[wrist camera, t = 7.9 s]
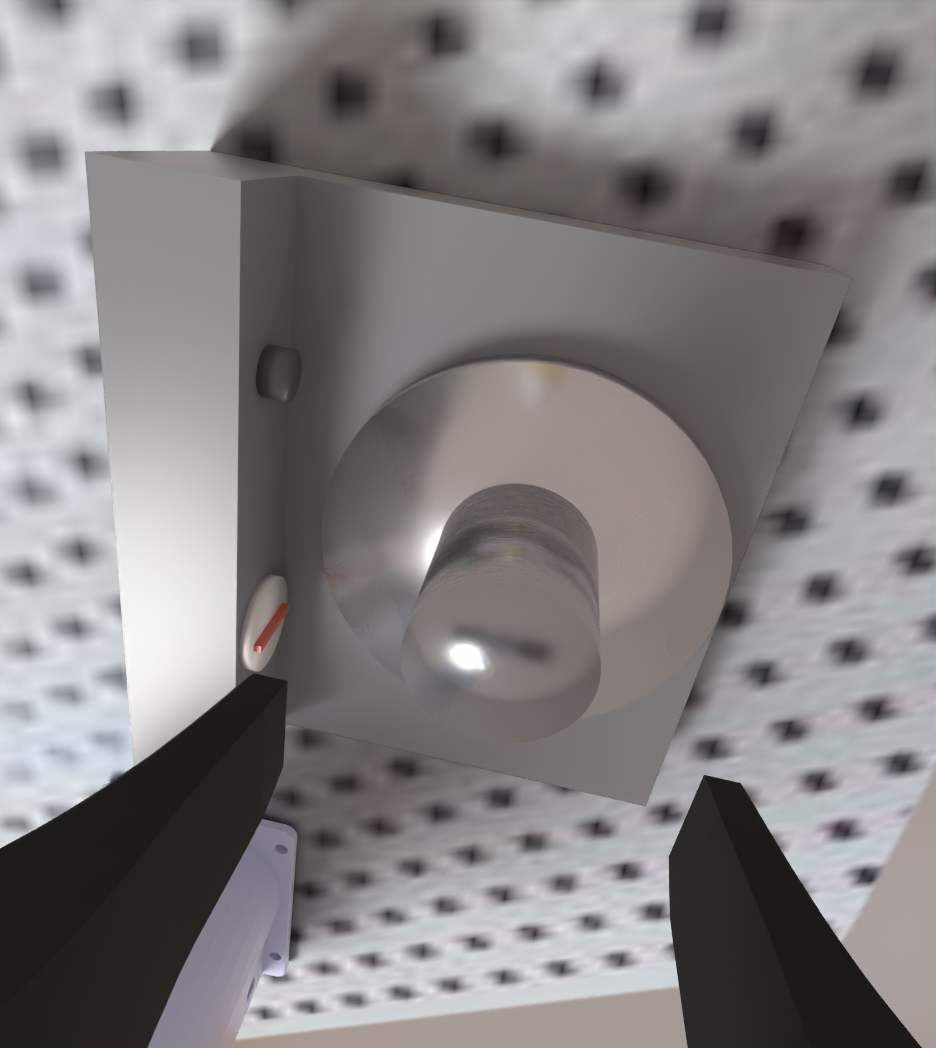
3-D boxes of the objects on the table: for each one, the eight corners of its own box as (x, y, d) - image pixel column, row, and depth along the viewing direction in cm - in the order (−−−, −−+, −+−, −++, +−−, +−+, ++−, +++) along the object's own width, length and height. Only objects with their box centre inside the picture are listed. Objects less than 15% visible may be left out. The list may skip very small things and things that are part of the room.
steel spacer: (587, 630, 19) (588, 754, 15) (437, 611, 20) (399, 729, 16) (608, 492, 17) (614, 594, 14) (442, 475, 18) (401, 569, 14)
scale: (641, 759, 25) (652, 892, 20) (212, 662, 26) (133, 769, 21) (824, 265, 17) (906, 305, 13) (208, 150, 18) (85, 151, 14)
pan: (661, 738, 22) (663, 758, 21) (318, 661, 22) (309, 677, 21) (789, 402, 17) (798, 414, 16) (345, 315, 17) (335, 322, 17)
